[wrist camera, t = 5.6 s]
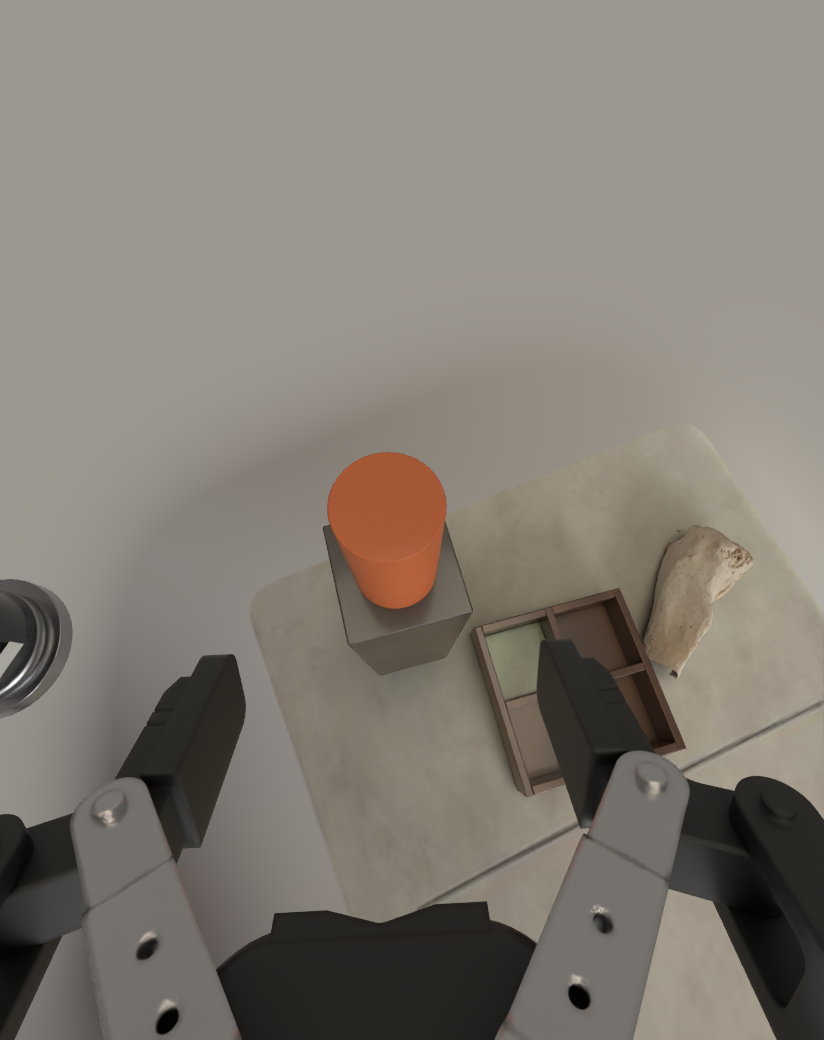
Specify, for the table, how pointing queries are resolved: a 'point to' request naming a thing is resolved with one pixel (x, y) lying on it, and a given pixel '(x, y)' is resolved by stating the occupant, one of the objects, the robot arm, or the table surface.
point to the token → (389, 526)
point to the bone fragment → (690, 593)
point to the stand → (402, 614)
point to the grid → (596, 634)
